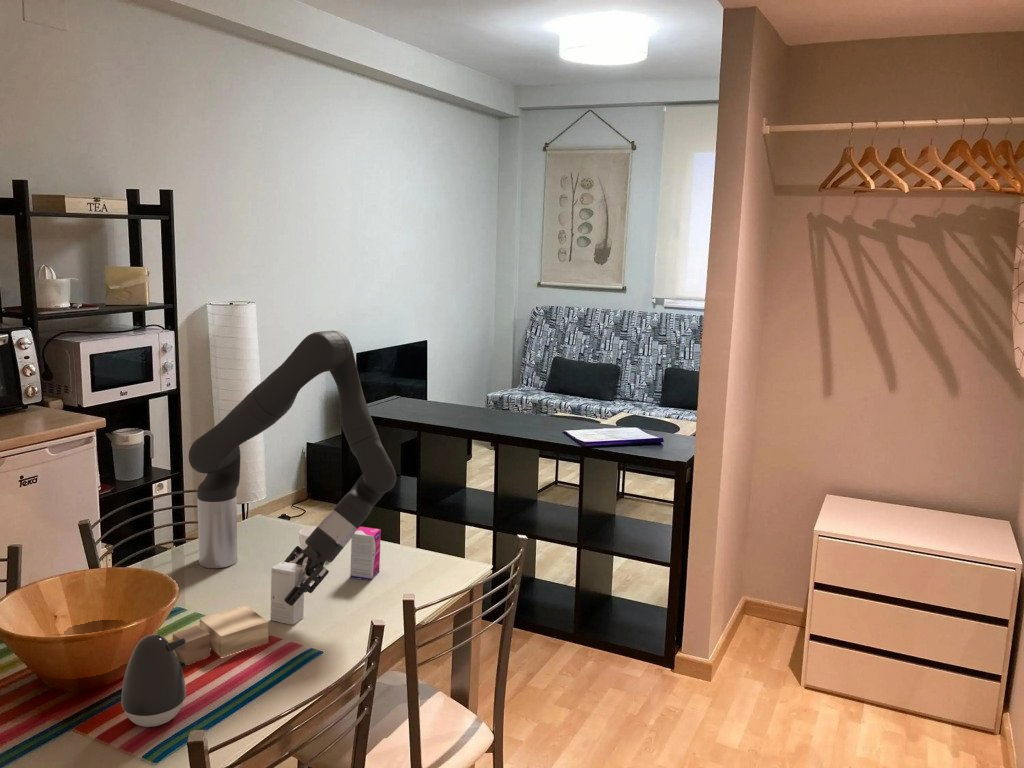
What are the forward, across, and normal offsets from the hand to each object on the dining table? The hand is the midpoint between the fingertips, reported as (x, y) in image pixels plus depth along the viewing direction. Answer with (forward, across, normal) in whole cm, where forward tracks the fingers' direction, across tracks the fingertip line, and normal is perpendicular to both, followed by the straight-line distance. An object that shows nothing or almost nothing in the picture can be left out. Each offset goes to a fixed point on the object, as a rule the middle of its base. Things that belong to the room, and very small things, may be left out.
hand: (281, 596), depth 180 cm
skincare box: (+3, 0, +5) cm, 6 cm away
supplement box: (-15, -13, +23) cm, 30 cm away
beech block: (+12, +4, -4) cm, 13 cm away
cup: (-11, -30, +19) cm, 37 cm away
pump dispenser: (+26, +24, -18) cm, 40 cm away
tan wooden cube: (+18, +6, -10) cm, 22 cm away
